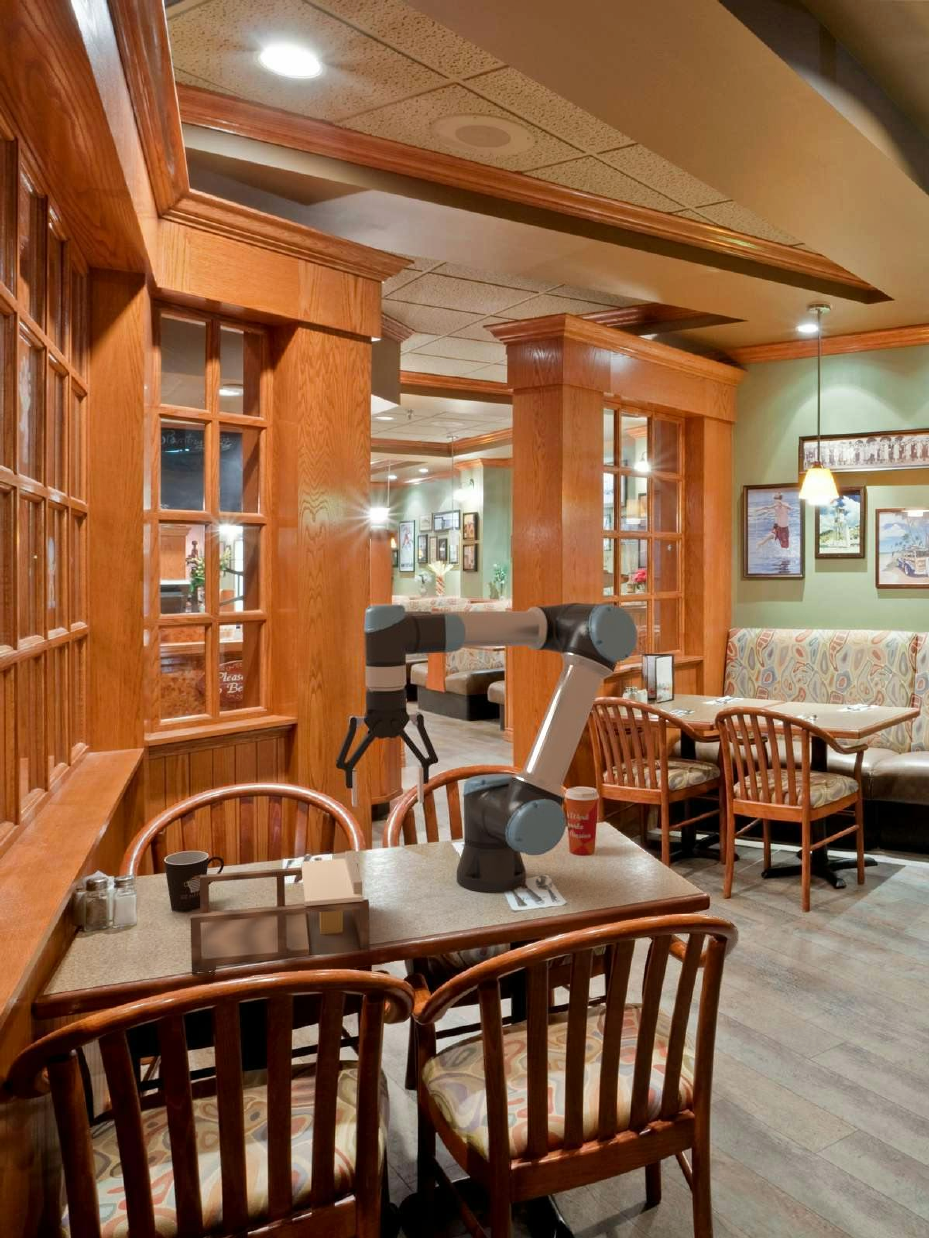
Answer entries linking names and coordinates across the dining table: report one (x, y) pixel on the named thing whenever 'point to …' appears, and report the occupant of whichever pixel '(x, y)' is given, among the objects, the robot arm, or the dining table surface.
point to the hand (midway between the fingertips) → (387, 803)
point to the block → (331, 922)
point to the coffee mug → (186, 878)
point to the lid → (332, 881)
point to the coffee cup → (582, 819)
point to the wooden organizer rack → (271, 927)
